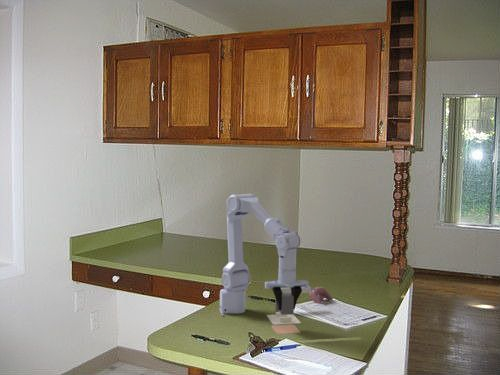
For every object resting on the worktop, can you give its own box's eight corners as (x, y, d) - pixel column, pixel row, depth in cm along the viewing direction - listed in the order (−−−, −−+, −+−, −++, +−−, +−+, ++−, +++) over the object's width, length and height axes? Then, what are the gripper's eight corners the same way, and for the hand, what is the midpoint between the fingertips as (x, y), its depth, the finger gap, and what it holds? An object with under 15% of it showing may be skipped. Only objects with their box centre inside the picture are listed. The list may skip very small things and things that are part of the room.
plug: (281, 314, 170) (282, 296, 170) (278, 311, 174) (278, 293, 173) (293, 314, 171) (293, 296, 170) (290, 310, 175) (290, 293, 174)
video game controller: (324, 302, 211) (318, 286, 213) (333, 299, 209) (327, 283, 210) (311, 308, 204) (305, 291, 205) (321, 305, 201) (314, 287, 202)
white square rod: (311, 292, 193) (311, 287, 193) (275, 295, 189) (275, 289, 189) (308, 290, 196) (308, 285, 196) (273, 293, 191) (273, 288, 191)
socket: (273, 326, 177) (273, 306, 176) (263, 313, 191) (264, 294, 190) (301, 325, 179) (301, 304, 178) (289, 312, 193) (290, 293, 192)
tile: (276, 336, 168) (277, 333, 168) (270, 327, 176) (271, 325, 176) (300, 335, 170) (300, 332, 169) (293, 326, 177) (293, 324, 177)
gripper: (268, 272, 166) (267, 313, 167) (312, 270, 169) (310, 311, 170) (263, 267, 172) (262, 307, 174) (305, 265, 175) (304, 305, 176)
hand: (286, 309), depth 172 cm, fingers closed on plug, 4 cm apart
